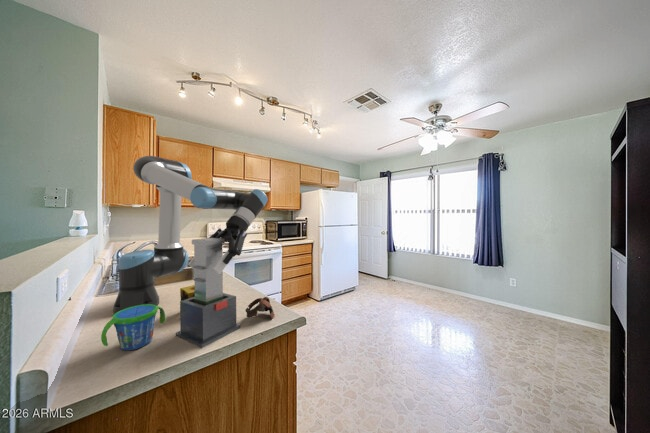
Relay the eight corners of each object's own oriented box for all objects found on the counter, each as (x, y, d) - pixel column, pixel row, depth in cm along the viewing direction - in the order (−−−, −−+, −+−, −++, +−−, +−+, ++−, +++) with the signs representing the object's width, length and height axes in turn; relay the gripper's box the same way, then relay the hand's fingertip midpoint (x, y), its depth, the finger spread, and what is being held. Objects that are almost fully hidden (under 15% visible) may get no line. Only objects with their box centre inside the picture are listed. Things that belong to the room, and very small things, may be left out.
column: (191, 311, 76) (191, 239, 76) (212, 304, 82) (211, 237, 82) (205, 316, 72) (204, 240, 72) (225, 308, 79) (224, 238, 79)
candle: (216, 312, 93) (216, 287, 93) (188, 320, 86) (188, 293, 86) (206, 305, 100) (206, 282, 100) (180, 312, 93) (179, 287, 93)
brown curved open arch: (273, 324, 83) (261, 307, 82) (251, 334, 85) (238, 317, 83) (280, 303, 95) (269, 287, 93) (260, 312, 96) (250, 297, 95)
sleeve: (175, 335, 75) (175, 301, 75) (214, 318, 87) (214, 289, 87) (201, 348, 68) (201, 310, 68) (240, 327, 80) (240, 295, 80)
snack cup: (108, 364, 61) (108, 325, 61) (95, 352, 66) (94, 316, 66) (173, 337, 74) (173, 305, 74) (157, 329, 79) (157, 299, 79)
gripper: (269, 229, 85) (236, 280, 72) (225, 227, 97) (189, 271, 84) (258, 214, 80) (220, 266, 67) (213, 214, 92) (173, 258, 80)
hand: (203, 269), depth 76 cm, fingers open, 13 cm apart
